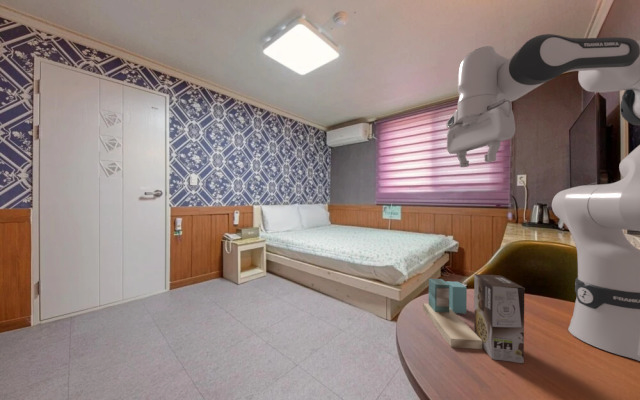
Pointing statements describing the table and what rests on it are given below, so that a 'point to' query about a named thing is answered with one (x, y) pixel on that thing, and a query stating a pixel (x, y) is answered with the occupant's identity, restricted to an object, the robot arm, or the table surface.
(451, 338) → the rail
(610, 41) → the robot arm
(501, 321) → the coffee box
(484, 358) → the table surface
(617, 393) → the table surface
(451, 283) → the teal block white top
